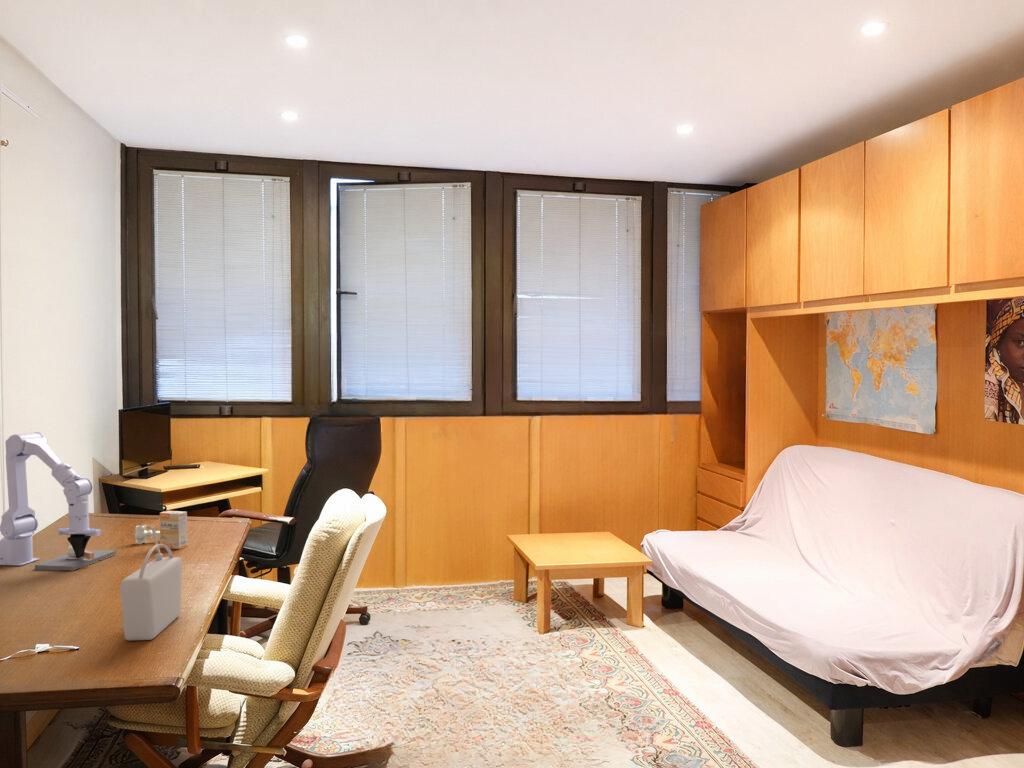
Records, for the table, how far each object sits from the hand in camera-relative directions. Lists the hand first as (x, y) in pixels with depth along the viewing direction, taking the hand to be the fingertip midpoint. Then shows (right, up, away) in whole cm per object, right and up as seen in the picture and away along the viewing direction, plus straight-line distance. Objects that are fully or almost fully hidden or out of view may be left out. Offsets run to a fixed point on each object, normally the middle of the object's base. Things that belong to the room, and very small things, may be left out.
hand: (79, 557), depth 241 cm
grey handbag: (+52, -4, -58) cm, 78 cm away
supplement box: (+20, -3, +24) cm, 31 cm away
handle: (-1, -1, +4) cm, 4 cm away
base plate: (-4, -3, +6) cm, 8 cm away
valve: (+8, -3, +33) cm, 34 cm away
